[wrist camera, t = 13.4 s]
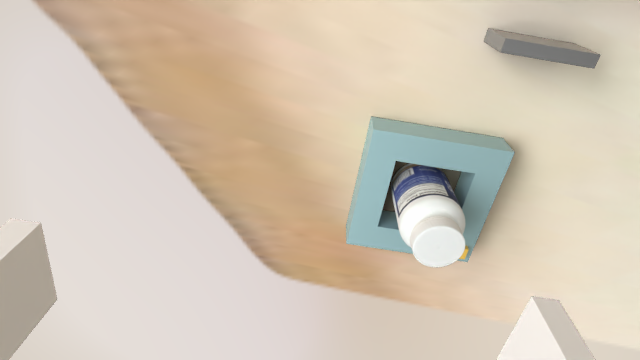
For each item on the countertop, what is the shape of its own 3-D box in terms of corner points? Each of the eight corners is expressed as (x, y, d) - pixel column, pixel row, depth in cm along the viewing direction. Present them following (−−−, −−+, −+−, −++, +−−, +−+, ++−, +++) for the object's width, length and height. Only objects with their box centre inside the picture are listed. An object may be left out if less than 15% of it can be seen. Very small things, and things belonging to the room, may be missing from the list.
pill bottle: (445, 205, 41) (473, 272, 33) (391, 209, 42) (404, 276, 33) (447, 156, 39) (478, 216, 30) (389, 161, 39) (403, 221, 31)
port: (371, 116, 37) (374, 132, 34) (502, 137, 37) (517, 155, 34) (346, 225, 43) (346, 247, 40) (459, 243, 43) (469, 266, 40)
